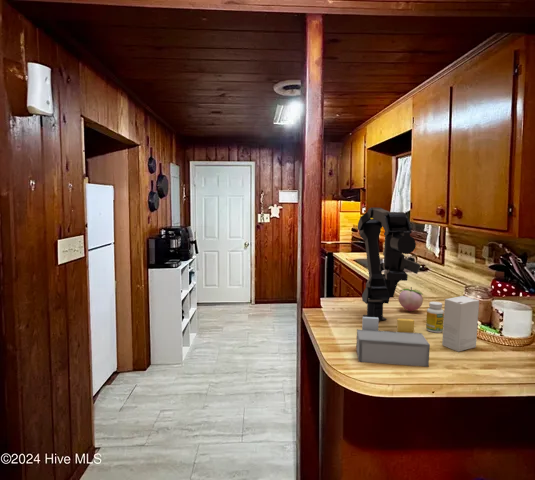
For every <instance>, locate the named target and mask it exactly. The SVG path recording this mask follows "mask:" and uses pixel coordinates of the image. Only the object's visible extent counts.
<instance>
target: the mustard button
mask: <svg viewBox="0 0 535 480" xmlns="http://www.w3.org/2000/svg"><path fill="white" fill-rule="evenodd" d="M396 332H407V333H415V320H414V318H413V319H412V318H409V319H408V318H396Z"/></svg>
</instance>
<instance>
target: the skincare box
mask: <svg viewBox="0 0 535 480" xmlns="http://www.w3.org/2000/svg"><path fill="white" fill-rule="evenodd" d="M479 307H480V300H479V299H475V298H471V297H468V296H465V295H461V296H456V297H450V298H445V299H444V309H443V311H444V321H443V331H442V342H441V345H442V346H444V347H446V348H449V350H452V351H454V352H455V351H456V352H461V351H465V350H469V349H470V350H471V349H475V348H476V347H477V340H478V339H477V337H478V334H477V333H478V325H479V324H478V323H479V321H478V320H479V309H480V308H479Z"/></svg>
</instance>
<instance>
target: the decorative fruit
mask: <svg viewBox="0 0 535 480" xmlns="http://www.w3.org/2000/svg"><path fill="white" fill-rule="evenodd" d="M398 292H400V293H399V295H398V303H399V305H400V306H401V307H402V308H404V310H407V311H408V312H414V311H416V310H418V309H419V308H421V307H422V305H423V301H424V300H423V299H424V298H423V295H424V294H423V293H422V291H420V290H418V289H412V286H411V287H410V289H409V288H401V290H399V291H398Z"/></svg>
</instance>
